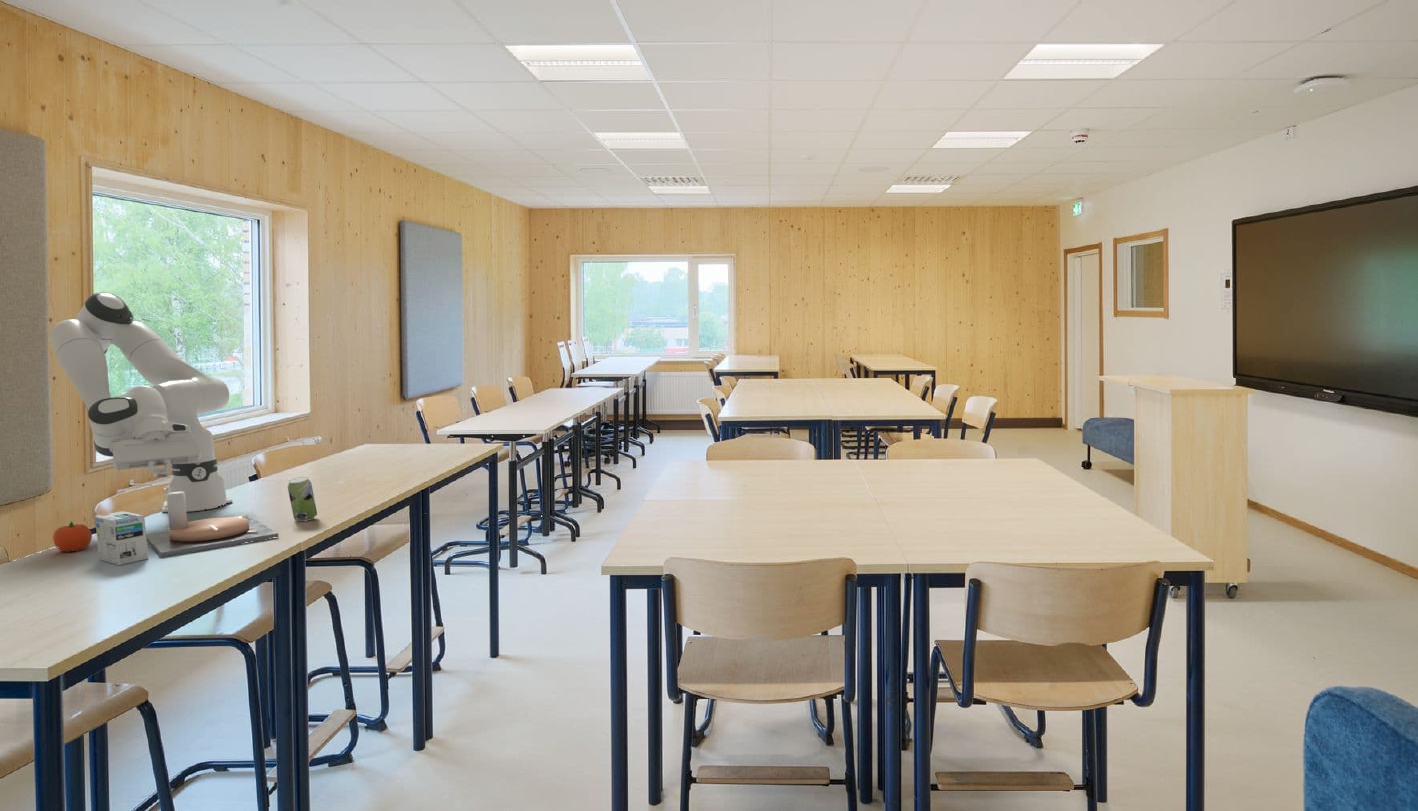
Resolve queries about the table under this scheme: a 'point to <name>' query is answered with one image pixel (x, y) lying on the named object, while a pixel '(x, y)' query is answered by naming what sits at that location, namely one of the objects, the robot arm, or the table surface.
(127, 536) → the light bulb box
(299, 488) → the beverage can
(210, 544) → the base
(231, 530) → the crank handwheel
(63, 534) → the pumpkin
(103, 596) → the table surface
